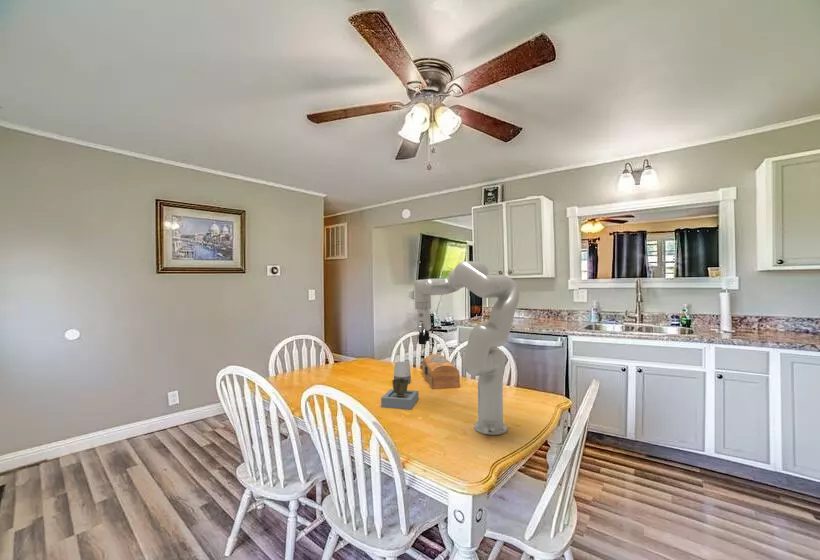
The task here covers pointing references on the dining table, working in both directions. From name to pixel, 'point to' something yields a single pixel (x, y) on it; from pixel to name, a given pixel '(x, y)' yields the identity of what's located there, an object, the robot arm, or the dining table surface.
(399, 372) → the smart speaker
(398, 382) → the cup
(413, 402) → the grey square tray
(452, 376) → the wooden box
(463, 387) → the dining table surface
